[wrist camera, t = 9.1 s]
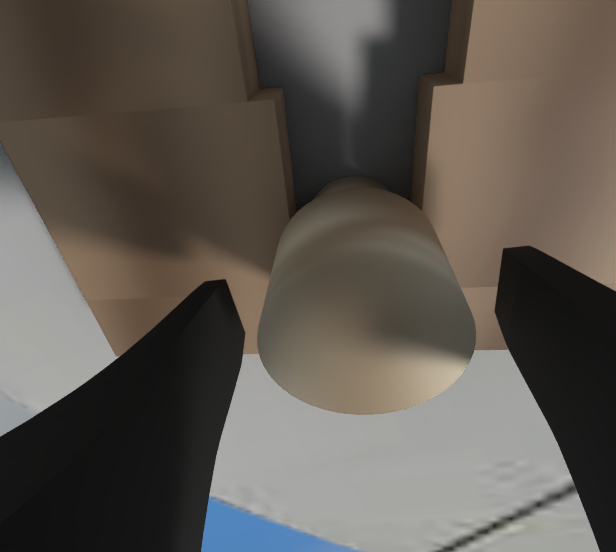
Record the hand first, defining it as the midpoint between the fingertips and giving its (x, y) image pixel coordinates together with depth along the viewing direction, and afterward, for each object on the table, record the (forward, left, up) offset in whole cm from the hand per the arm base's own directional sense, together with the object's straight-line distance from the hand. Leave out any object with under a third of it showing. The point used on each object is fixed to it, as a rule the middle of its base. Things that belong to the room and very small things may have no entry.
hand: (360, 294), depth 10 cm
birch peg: (0, 0, -4) cm, 4 cm away
